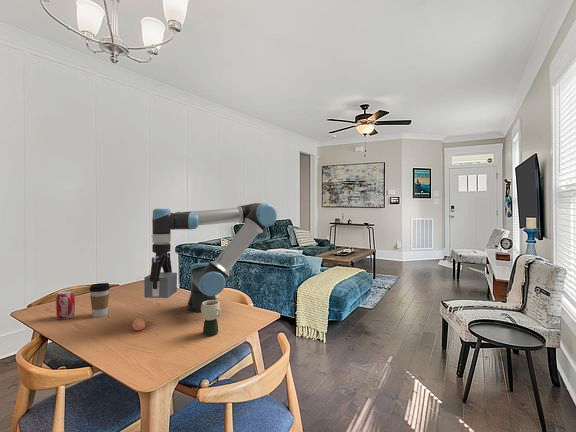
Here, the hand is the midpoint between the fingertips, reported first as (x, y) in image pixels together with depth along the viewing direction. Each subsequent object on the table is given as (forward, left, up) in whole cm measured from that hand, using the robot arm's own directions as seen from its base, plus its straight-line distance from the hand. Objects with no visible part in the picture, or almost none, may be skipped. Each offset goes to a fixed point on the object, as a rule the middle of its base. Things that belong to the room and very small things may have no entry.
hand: (161, 292), depth 139 cm
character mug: (-24, +11, -14) cm, 30 cm away
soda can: (+47, -8, -14) cm, 50 cm away
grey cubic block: (0, 0, -1) cm, 1 cm away
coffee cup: (+33, -11, -14) cm, 37 cm away
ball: (+7, +7, -11) cm, 15 cm away
